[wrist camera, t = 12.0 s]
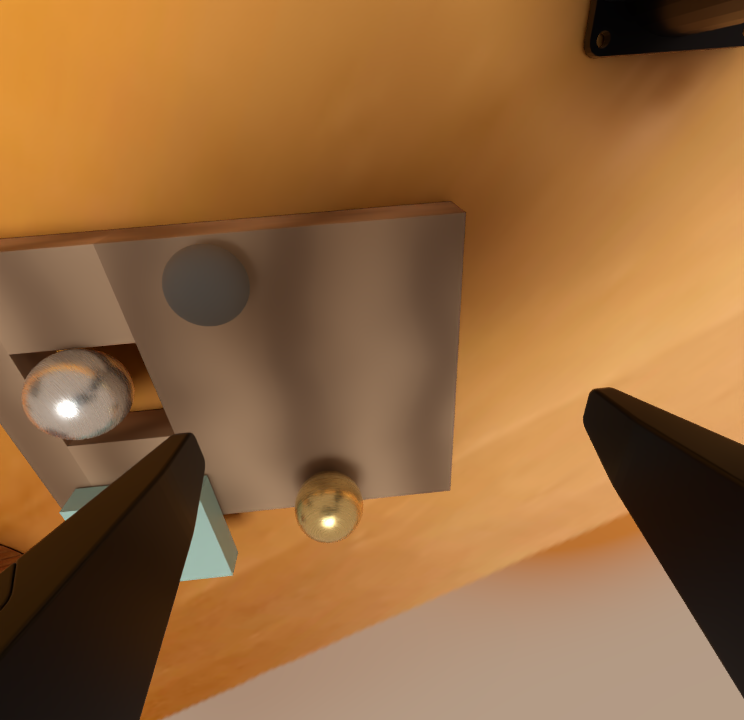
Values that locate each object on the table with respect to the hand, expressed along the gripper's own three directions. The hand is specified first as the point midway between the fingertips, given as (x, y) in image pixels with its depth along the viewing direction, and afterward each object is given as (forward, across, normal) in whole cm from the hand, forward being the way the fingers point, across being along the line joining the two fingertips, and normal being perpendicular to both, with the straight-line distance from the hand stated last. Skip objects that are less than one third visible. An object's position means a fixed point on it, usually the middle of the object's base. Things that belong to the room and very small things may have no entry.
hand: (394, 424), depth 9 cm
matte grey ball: (+8, +6, -1) cm, 10 cm away
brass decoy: (+7, +3, +12) cm, 14 cm away
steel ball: (+8, +13, +4) cm, 16 cm away
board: (+11, +7, +5) cm, 14 cm away
